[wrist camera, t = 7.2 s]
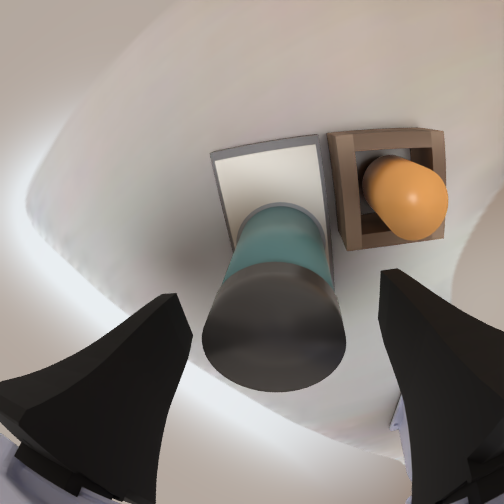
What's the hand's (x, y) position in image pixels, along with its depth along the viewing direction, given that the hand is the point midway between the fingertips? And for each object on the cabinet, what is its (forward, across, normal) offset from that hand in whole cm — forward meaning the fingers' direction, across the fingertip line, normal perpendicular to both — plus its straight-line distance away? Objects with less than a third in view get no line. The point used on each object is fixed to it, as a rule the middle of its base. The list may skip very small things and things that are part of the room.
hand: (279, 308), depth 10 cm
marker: (+5, 0, 0) cm, 5 cm away
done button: (+4, -5, -3) cm, 7 cm away
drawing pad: (+6, 0, 0) cm, 6 cm away
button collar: (+6, -5, -3) cm, 8 cm away
